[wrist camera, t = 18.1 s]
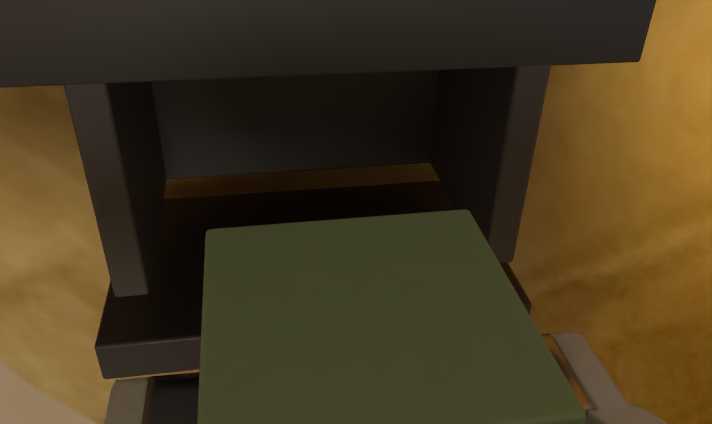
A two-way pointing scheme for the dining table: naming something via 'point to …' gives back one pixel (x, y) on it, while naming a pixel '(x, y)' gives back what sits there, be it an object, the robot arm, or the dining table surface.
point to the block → (370, 327)
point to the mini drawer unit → (305, 37)
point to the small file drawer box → (283, 154)
